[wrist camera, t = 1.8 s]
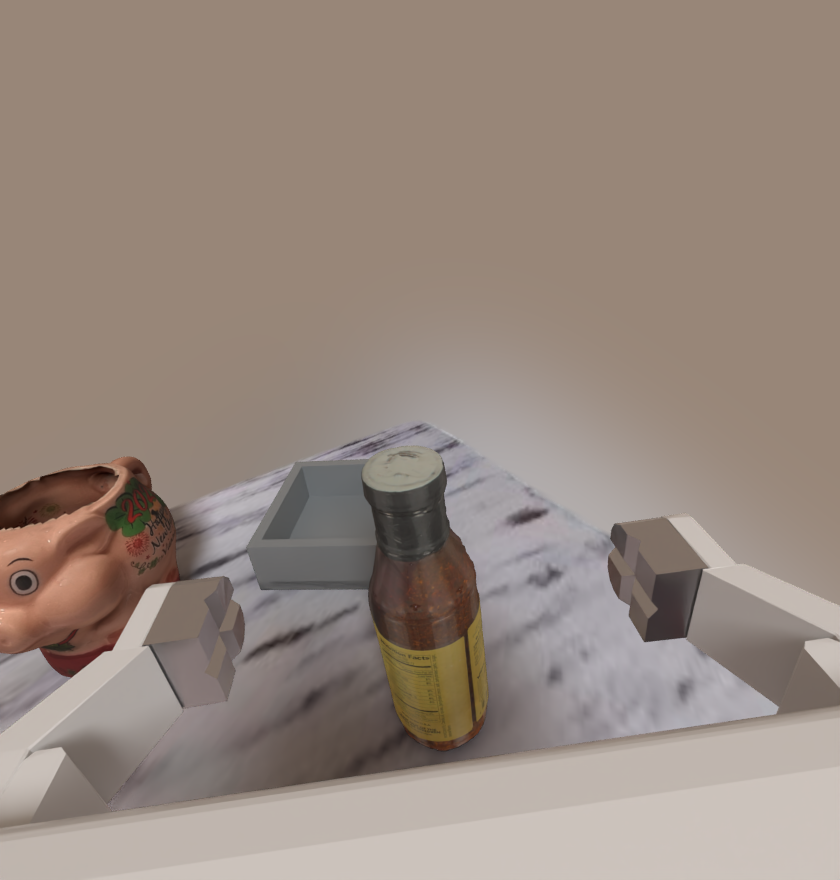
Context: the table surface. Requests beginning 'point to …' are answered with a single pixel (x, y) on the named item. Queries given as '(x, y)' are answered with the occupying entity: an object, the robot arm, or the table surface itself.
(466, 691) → the sauce bottle
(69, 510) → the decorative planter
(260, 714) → the table surface
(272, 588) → the tray
